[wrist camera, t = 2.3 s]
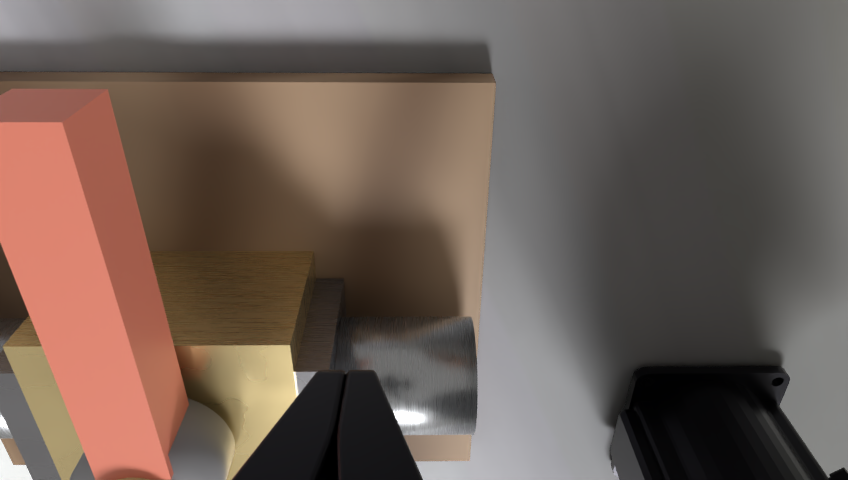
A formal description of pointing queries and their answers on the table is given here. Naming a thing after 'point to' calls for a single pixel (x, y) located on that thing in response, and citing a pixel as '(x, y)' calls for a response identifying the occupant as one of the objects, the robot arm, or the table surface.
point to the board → (311, 182)
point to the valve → (255, 355)
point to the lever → (98, 291)
